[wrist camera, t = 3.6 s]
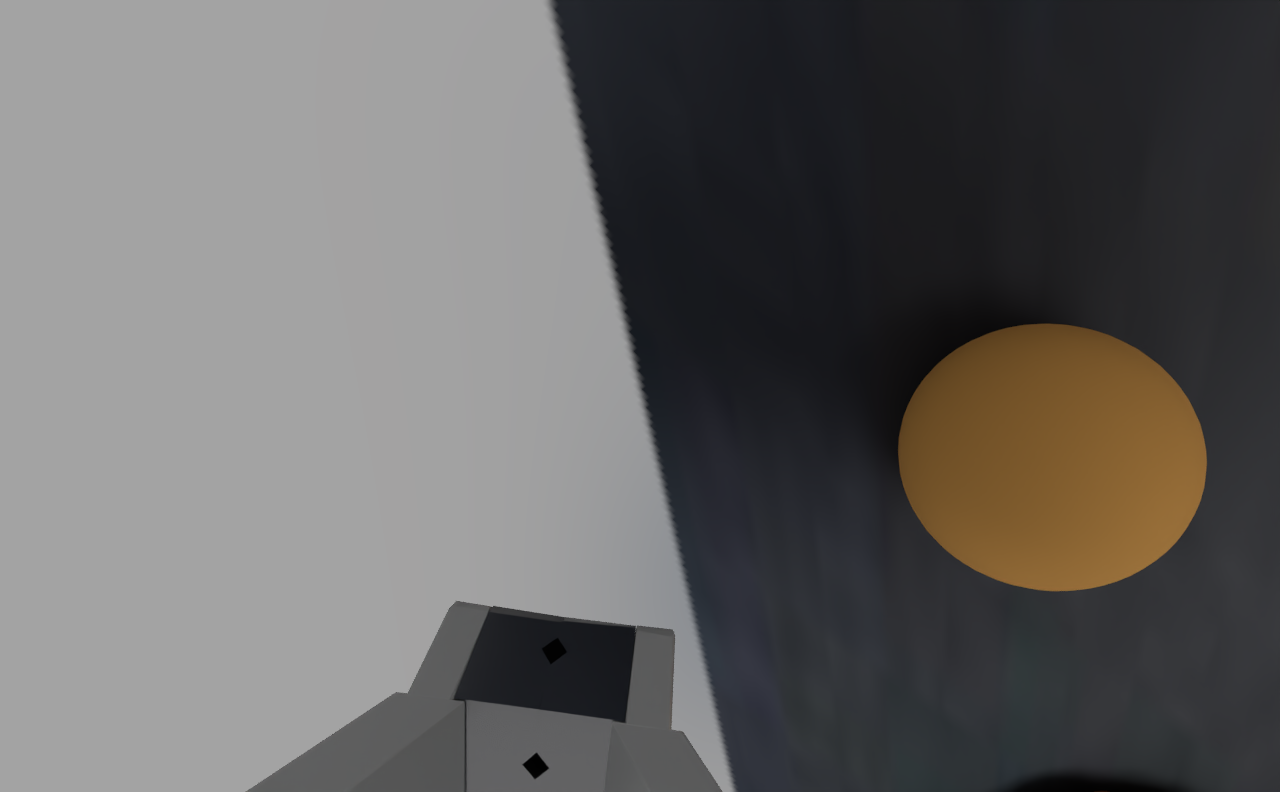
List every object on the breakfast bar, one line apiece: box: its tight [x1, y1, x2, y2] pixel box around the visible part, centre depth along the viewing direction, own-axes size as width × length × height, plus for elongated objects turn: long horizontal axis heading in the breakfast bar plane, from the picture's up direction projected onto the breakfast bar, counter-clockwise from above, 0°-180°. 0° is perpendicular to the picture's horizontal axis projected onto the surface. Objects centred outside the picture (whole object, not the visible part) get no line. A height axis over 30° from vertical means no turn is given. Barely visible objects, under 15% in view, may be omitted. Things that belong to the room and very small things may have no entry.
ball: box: [898, 324, 1207, 591], centre depth 16 cm, size 6×6×6 cm
